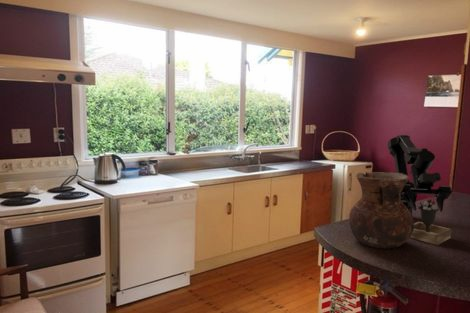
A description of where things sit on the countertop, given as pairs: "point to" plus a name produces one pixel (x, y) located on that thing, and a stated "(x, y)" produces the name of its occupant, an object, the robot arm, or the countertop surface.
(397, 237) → the jug
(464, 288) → the countertop surface
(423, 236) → the cream square tray
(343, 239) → the countertop surface
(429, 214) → the sundae
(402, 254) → the countertop surface
